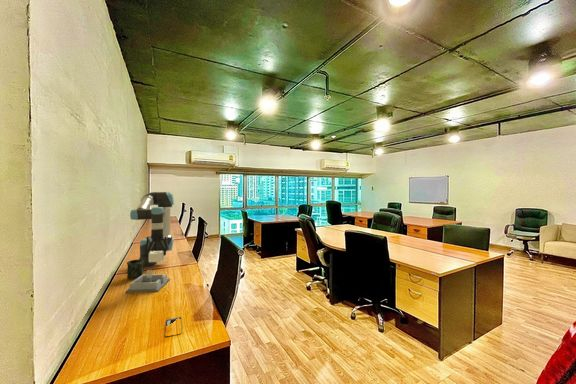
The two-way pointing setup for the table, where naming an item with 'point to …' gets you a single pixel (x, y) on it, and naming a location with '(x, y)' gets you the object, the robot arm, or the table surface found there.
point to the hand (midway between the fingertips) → (157, 260)
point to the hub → (155, 256)
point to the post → (149, 275)
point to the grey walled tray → (148, 283)
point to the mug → (134, 269)
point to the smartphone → (171, 321)
